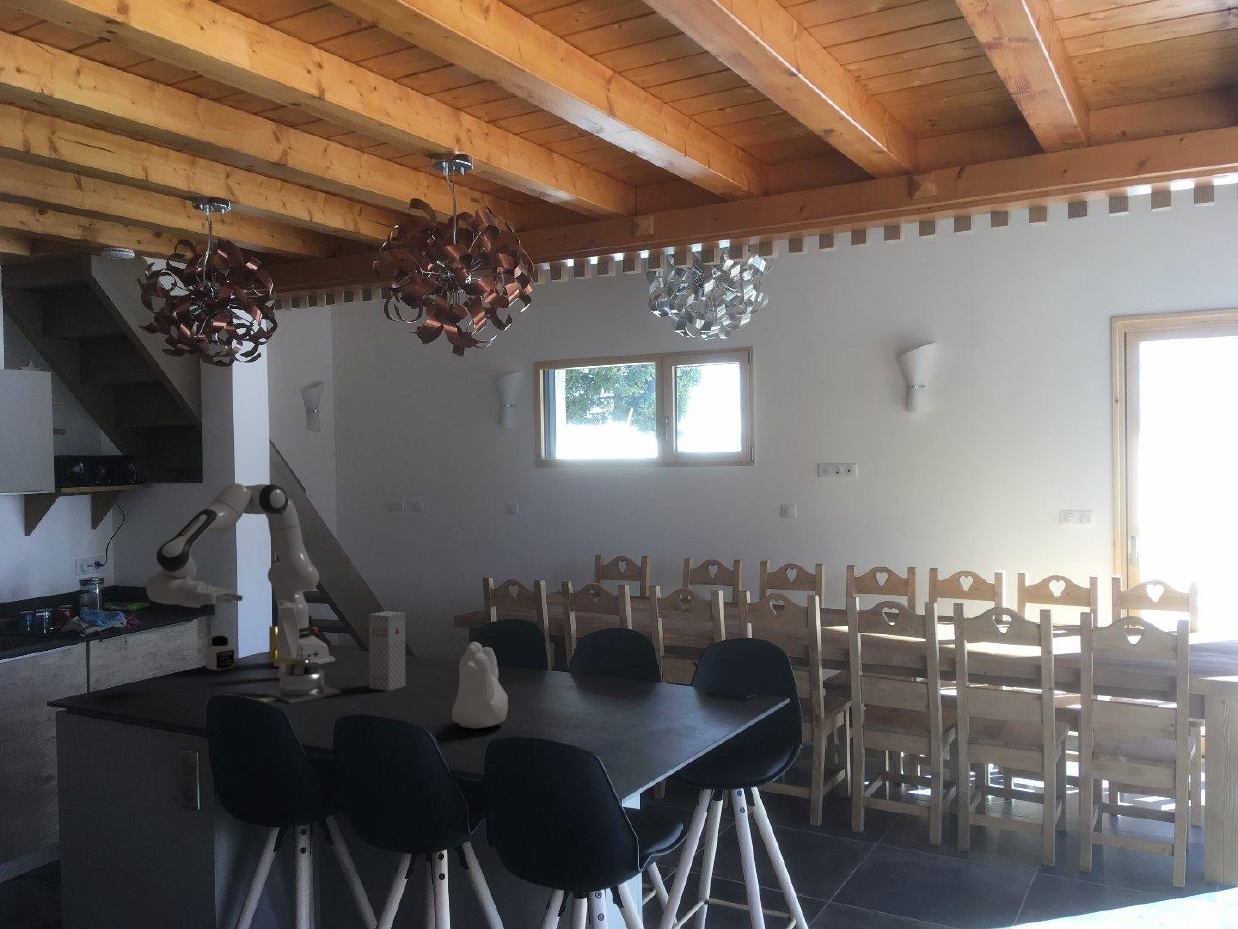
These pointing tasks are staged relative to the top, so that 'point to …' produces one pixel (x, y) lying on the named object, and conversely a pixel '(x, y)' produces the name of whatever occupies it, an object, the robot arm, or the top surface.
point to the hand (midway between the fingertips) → (237, 599)
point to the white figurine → (479, 690)
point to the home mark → (267, 699)
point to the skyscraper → (288, 633)
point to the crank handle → (293, 664)
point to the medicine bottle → (220, 654)
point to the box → (386, 650)
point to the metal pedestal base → (301, 687)
